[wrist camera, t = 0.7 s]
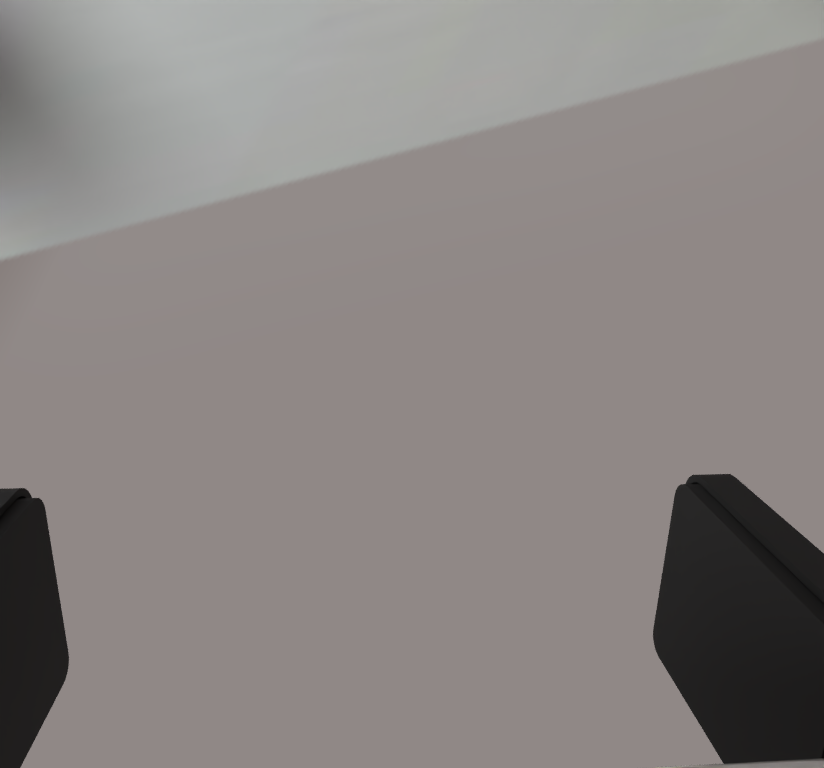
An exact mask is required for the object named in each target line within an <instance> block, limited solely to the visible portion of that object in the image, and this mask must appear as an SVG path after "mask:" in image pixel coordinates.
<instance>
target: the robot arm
mask: <svg viewBox="0 0 824 768" xmlns="http://www.w3.org/2000/svg"><path fill="white" fill-rule="evenodd" d="M653 639H654V645H655V649H656V652H657V654H658V656H659V658H660V660H661V661H662V663H663V665H664V666H665V668H666V670H667V671H668V673H669V675H670V676H671V678H672V679H673V681H674V683H675V684H676V686H677V688H678V689H679V691H680V693H681V694H682V696H683V697H684V699H685V701H686V702H687V704H688V706H689V707H690V709H691V711H692V712H693V714H694V716H695V717H696V719H697V720H698V722H699V724H700V725H701V727H702V729H703V730H704V732H705V733H706V735H707V737H708V739H709V740H710V742H711V743H712V745H713V747H714V748H715V750H716V752H717V753H718V755H719V757H720V758H721V760H722V762H723V763H724V764H711V765H693V766H674V767H655V768H824V553H822V552H821V551H820V550H819V549H818V548H817V547H815V546H814V545H813V544H812V543H811V542H810V541H809V540H807V539H806V538H805V537H804V536H803V535H802V534H800V533H799V532H798V531H797V530H796V529H795V528H793V527H792V526H791V525H790V524H789V523H788V522H786V521H785V520H784V519H783V518H782V517H781V516H779V515H778V514H777V513H776V512H775V511H774V510H772V509H771V508H770V507H769V506H768V505H767V504H766V503H764V502H763V501H762V500H761V499H760V498H759V497H757V496H756V495H755V494H754V493H753V492H752V491H750V490H749V489H748V488H747V487H746V486H745V485H744V484H742V483H741V482H740V481H739V480H738V479H737V478H735V477H734V476H732V475H731V474H715V475H692V476H691V477H689V479H688V480H687V482H686V484H683V485H680V486H678V488H677V490H676V493H675V497H674V504H673V510H672V516H671V523H670V529H669V535H668V542H667V547H666V554H665V561H664V567H663V573H662V579H661V585H660V591H659V598H658V604H657V610H656V617H655V623H654V630H653ZM68 663H69V656H68V648H67V641H66V636H65V630H64V623H63V617H62V611H61V604H60V598H59V593H58V586H57V579H56V573H55V567H54V561H53V555H52V549H51V542H50V537H49V530H48V524H47V518H46V511H45V507H44V504H43V502H42V500H41V499H39V498H32V497H31V495H30V493H29V492H28V491H27V490H26V489H24V488H19V489H0V768H20V767H21V765H22V763H23V761H24V759H25V757H26V755H27V753H28V751H29V750H30V748H31V746H32V744H33V742H34V740H35V738H36V736H37V734H38V732H39V730H40V728H41V726H42V724H43V722H44V720H45V718H46V717H47V715H48V713H49V711H50V709H51V707H52V705H53V703H54V701H55V699H56V697H57V695H58V693H59V691H60V689H61V687H62V685H63V684H64V681H65V678H66V675H67V671H68Z"/></svg>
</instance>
